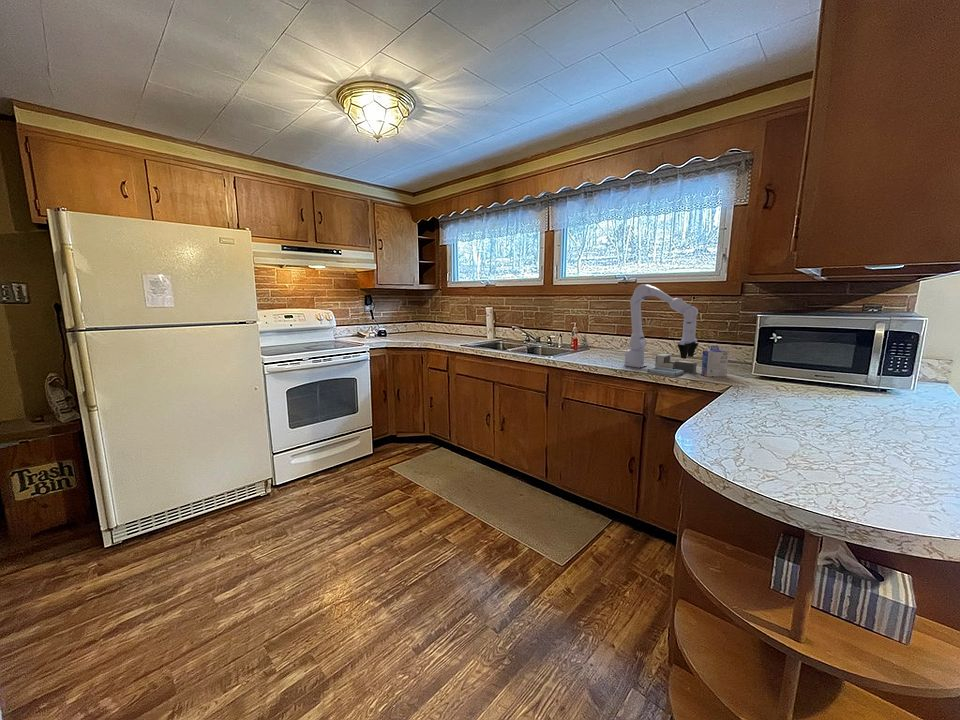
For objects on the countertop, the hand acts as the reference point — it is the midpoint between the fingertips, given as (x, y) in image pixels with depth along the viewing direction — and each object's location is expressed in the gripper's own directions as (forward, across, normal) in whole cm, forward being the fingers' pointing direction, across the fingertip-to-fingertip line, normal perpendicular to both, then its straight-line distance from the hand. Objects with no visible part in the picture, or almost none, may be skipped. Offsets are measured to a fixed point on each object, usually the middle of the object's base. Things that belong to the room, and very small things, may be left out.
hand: (686, 357), depth 197 cm
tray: (+7, -12, +5) cm, 14 cm away
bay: (+7, 0, +10) cm, 12 cm away
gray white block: (+7, 0, 0) cm, 7 cm away
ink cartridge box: (+8, 0, -13) cm, 15 cm away
